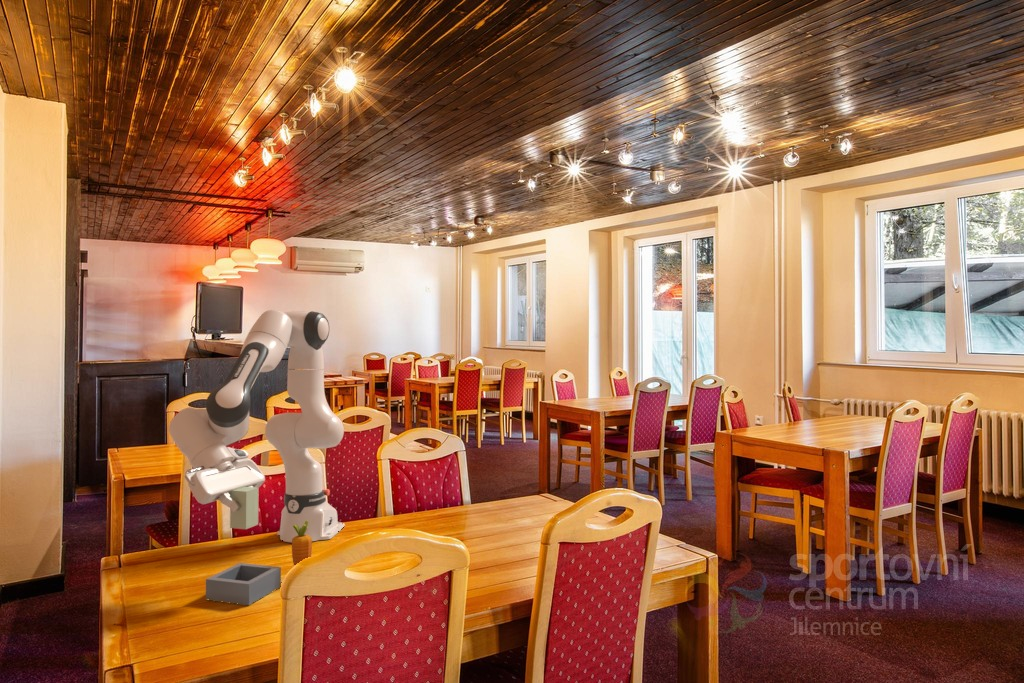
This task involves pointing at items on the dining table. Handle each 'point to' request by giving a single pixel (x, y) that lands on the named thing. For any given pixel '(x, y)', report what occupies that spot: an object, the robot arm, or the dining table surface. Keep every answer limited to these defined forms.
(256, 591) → the gray open box
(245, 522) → the sage block
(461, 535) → the dining table surface
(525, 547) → the dining table surface
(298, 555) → the carrot
